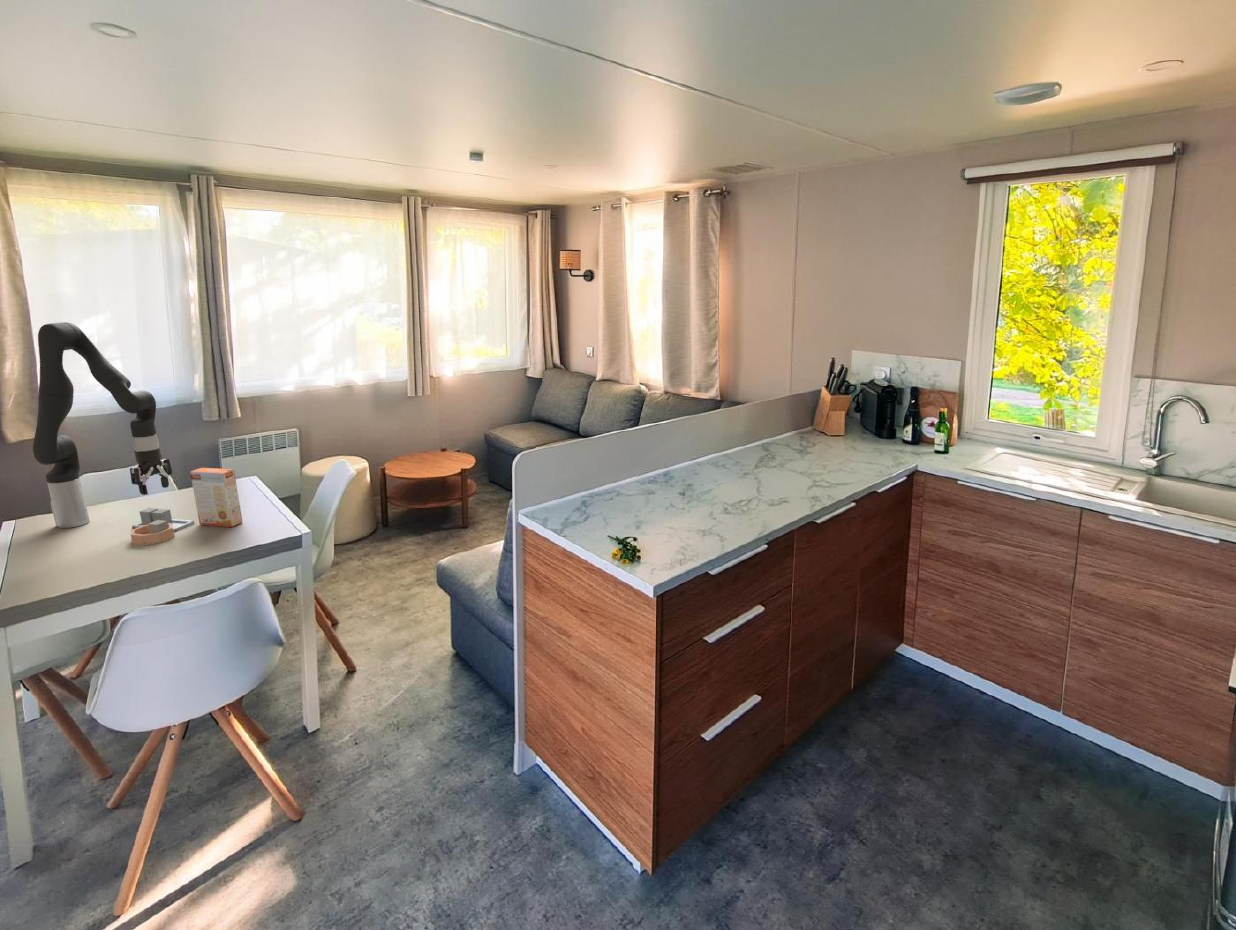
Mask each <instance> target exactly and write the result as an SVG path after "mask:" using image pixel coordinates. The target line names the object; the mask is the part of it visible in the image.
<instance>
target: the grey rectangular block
mask: <svg viewBox="0 0 1236 930" xmlns="http://www.w3.org/2000/svg"><path fill="white" fill-rule="evenodd" d="M148 529H149V534H151V533H157V532H161V531H163V530H165V529H168V523H167V521H164V520H156V521H154V522H151V523H149V524H148Z"/></svg>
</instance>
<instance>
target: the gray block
mask: <svg viewBox="0 0 1236 930" xmlns="http://www.w3.org/2000/svg"><path fill="white" fill-rule="evenodd" d="M157 510H159V508H157V507H156V508H155V507H148V508H145V509H142V510H140V511H139V515H140V521H141V522H142V526H143V525H148V524H149V523H151V522H153V518H152V513H151V512H154V511H157Z"/></svg>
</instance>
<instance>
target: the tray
mask: <svg viewBox="0 0 1236 930" xmlns="http://www.w3.org/2000/svg"><path fill="white" fill-rule="evenodd" d="M172 523H173V528H174V533H175V532H178V531H180V530H182V529H185V528H187V527H189V526H191V525H194V524H195V521H194V520H187V519H179V518H178V519H175V518H172ZM141 526H142V521H141V522H138V523H136V524H133V525H131V527H132V529H136V528H138V527H141Z"/></svg>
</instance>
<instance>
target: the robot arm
mask: <svg viewBox="0 0 1236 930" xmlns="http://www.w3.org/2000/svg"><path fill="white" fill-rule="evenodd" d="M38 329H39V330H38V333H37V346H38V356H39V357H38V358H39V385H38V397H37V398H38V399H37V401H38V406H37V407H38V408H37V418H36V419H37V420H36V421H37V422H36V427H35V433H34V436H33V437H34V438H33V443H32V452H33V456H34V457H33V458H34V459H35V460H36V461H37V462H38V463H39V464H41V465H45V466H46V465H47V466H48V465H53V464H54V465H53V467H52V468H51V470H50V471H49V470H48V472H46V474H45V479H46V483H47V486H48V487H47V488H48V491H49V496H50V502H49V503H50V508H51V511H52V512H51V513H52V515H53V519H54V523H55V526H57V528H60V529H70V528H71V529H72V528H76V527H80V526H84V525H87V524H88V523H89V522H90V521H91V520H90V517H89V512H88V508H87V503H86V499H85V494H84V491H83V486H82V482H81V478H80V477H81V476H80V472H81V471H80V470H81V467H80V466H81V465H80V459H79V453H78V448H77V445H76V443H75V442H74V440H73V439H72V438H71V437H70V436H68V435H66V434H60V435H59V430H60V428H61V427H62V426H61V425H62V424H63V422H65V419H66V418H67V416H68V415H69V413H70V412H71V410H72V407H73V404H74V391H75V389H74V384H73V382H72V381H71V378H69V376H68V374H67V373H66V371H65V369H64V365H63V363H64V362H63V358H64V357H63V356H64V351H69V350H70V351H71V350H72V351H74V352H75V353H77V354H78V355H80V356H81V357H82V358H83V359H84V360H85V362H86V363H87V366H88V368H89V371H90V373H91V376H92V377H93V378H94V379H95V380H96V381H97V382H98V383H99V384H100V385H101V386H102V387H103V388H105V389H106V390H107V391H108V392H109V393H110V394H111V396H112V398H113V399H114V400H115V402H116V403H117V405H118V406H119V408H121V410H123V411H124V412H127V413H128V414H133V415H134V414H136V415H135V417H134V419H132V420H131V421H130V424H129V425H130V431H131V437H132V438H131V439H132V446H133V451H134V456H135V461H136V462H137V465H138V466H137V467H130V468H129V473H130V479H131V484H132V485H135V486H136V485H137V486H138V490H139V493H140V495H143V496H146V495H148V494H149V493H148V488H147V484H146V483H147V482H148V480H149V479H150V477H152V476H154V475H158V476H159V477H160V479H159V480H160V484H161V487H162V488H163V489H164V488H168V487H169V486H170V482H169V476H171V475H172V474H173V468H172V465H171V461H170V459H169V458H162V452H161V446H160V442H159V438H158V436H157V435H158V434H157V429H156V425H155V420H156V411H157V401H156V398H155V397H154V395H153V394H152V393H151V392H149V391H148V390H138V391H135V392H132V391H131V390H130V388H131V386H132V383H131V380H129V378H128V377H126V375H124V374H123V373H122V372H120V371H119V369H117V368H116V367H115V366H114V365H113V364H112V363H110V361H109V360H108V359H107V358H106V357H105V356H104V355H103V354H102V353H101V351H99V348H97V346H95V344H94V343H93V342H92V341H91V339H90V338H89V337H88V336H87V335H86V334H85V333H84V331H83V330H82V329H81V328H80V327H79V326H77V324H74V323H72V322H54V323H46V324H43V325H42V326H41V327H39V328H38Z"/></svg>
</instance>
